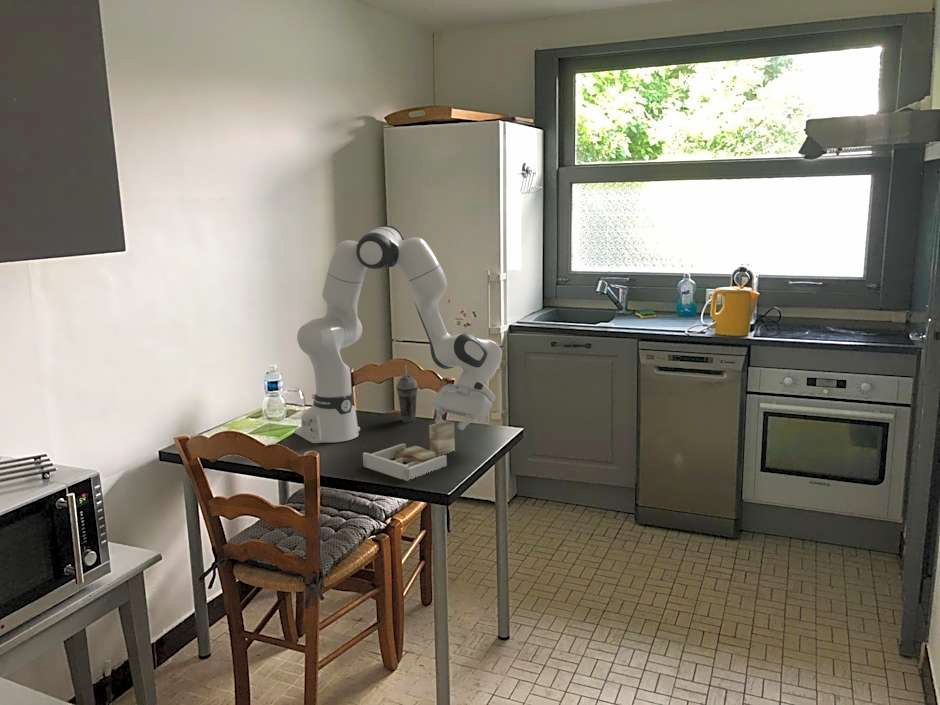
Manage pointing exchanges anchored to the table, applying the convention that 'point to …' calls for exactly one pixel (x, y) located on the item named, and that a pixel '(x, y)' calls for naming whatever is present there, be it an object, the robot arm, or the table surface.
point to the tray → (400, 464)
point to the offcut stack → (415, 454)
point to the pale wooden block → (442, 437)
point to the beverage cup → (407, 397)
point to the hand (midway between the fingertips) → (448, 425)
